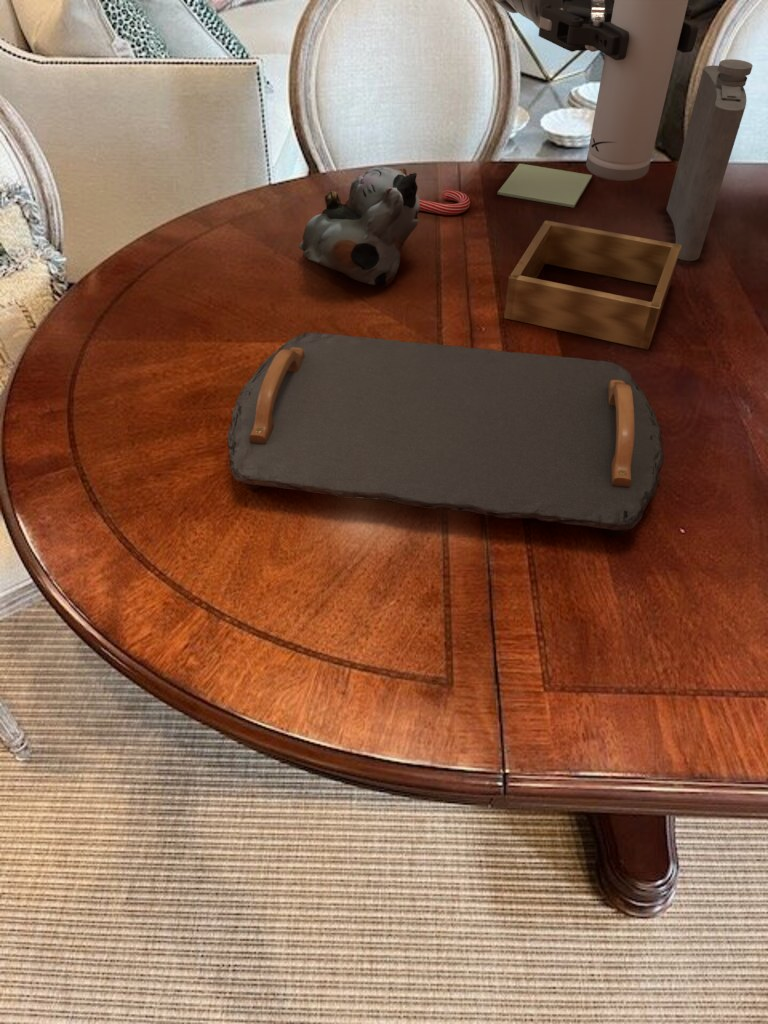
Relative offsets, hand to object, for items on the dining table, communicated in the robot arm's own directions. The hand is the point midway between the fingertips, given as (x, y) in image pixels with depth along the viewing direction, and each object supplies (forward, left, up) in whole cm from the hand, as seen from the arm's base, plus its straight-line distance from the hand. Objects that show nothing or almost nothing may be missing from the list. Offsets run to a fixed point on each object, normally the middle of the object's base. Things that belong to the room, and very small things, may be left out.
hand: (658, 43), depth 70 cm
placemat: (+15, -31, -27) cm, 43 cm away
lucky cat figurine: (+30, +1, -27) cm, 40 cm away
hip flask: (-6, -24, -27) cm, 37 cm away
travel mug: (+2, -2, -12) cm, 12 cm away
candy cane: (+30, -18, -27) cm, 44 cm away
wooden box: (+2, -2, -27) cm, 27 cm away
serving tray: (+9, +28, -27) cm, 40 cm away
